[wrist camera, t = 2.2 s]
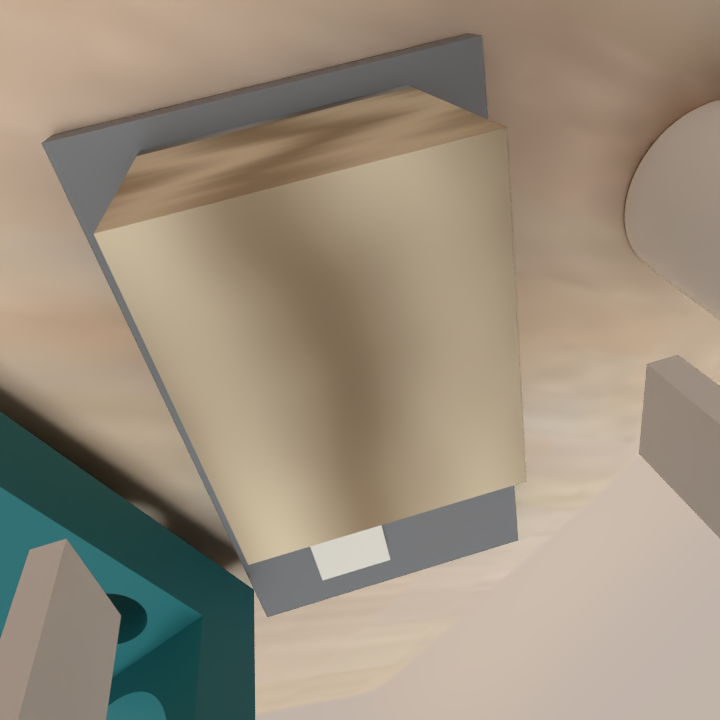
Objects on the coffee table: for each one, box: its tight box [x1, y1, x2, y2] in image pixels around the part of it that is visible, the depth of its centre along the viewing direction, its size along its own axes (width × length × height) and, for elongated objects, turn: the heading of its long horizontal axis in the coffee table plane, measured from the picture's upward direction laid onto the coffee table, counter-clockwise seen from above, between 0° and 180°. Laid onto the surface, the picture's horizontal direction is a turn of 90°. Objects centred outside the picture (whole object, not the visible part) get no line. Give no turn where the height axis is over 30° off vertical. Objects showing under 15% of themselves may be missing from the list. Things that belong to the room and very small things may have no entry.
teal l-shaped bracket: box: [0, 412, 255, 720], centre depth 26 cm, size 18×11×10 cm, turn 36°
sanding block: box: [94, 85, 526, 565], centre depth 21 cm, size 10×12×9 cm
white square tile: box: [310, 525, 390, 580], centre depth 33 cm, size 4×4×1 cm
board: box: [42, 34, 518, 617], centre depth 29 cm, size 16×28×2 cm, turn 11°
